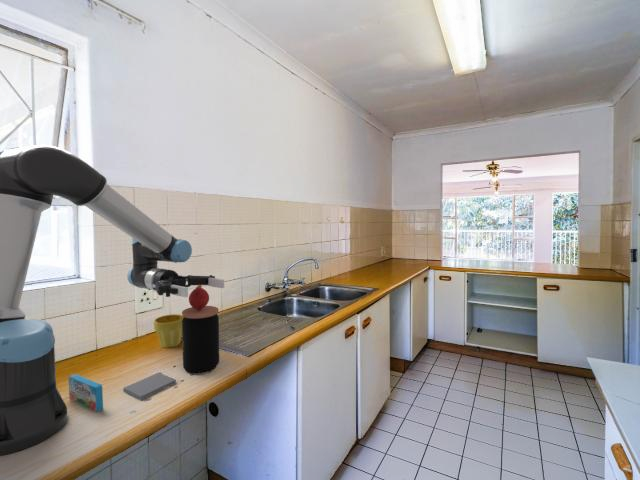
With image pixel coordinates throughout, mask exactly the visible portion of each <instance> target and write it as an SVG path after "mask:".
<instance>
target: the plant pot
mask: <svg viewBox="0 0 640 480" xmlns="http://www.w3.org/2000/svg"><path fill="white" fill-rule="evenodd" d="M183 318H184V317H183V316H182V314H179V313H178V314H177V313H176V314H175V313H173V314H165V315H161V316H158V317H156V318H155V319H154V320H153V325H154V326H153V329H154V330H155V331H156V333H157V337H158V339H159V345H160V347H161V348H168V349H169V348H174V347H177V346H179V345H180V344H181V343H182V319H183Z"/></svg>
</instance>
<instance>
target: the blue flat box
mask: <svg viewBox="0 0 640 480" xmlns="http://www.w3.org/2000/svg"><path fill="white" fill-rule="evenodd" d="M68 392H69V393H68V394H69V397H68V398H69V400H70V401H73V402H74V403H76V404H79V405H81V406H83V407H84V408H87V409H88V410H91V411H93V412H94V413H97V412H100V411H101V410H104V400H103V399H104V397H103V385H102V384H100V383H98V382H97V381H93V380H91V379H88V378H86V377H84V376H81V375H79V374H77V373H76V374H72V375H70V376H68Z"/></svg>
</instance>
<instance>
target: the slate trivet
mask: <svg viewBox="0 0 640 480" xmlns="http://www.w3.org/2000/svg"><path fill="white" fill-rule="evenodd" d="M175 384H177V381H176V378H173V377H171V376H168V375H166V374H163V373H161V372H157V373H154V374H152V375H150V376H147V377H145V378H142V379H140V380H138V381H136V382H133V383H131V384H129V385H127V386H125V387H123V393H126V394H128V395H129V396H132V397H133V398H136V399H138V400H139V401H142V400H145V399H146V398H148V397H150V396H152V395H155V394H157V393H159V392H160V391H162V390H164V389H167V388H169V387H170V386H173V385H175Z"/></svg>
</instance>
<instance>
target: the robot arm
mask: <svg viewBox="0 0 640 480" xmlns="http://www.w3.org/2000/svg"><path fill="white" fill-rule="evenodd" d="M54 196H57V197H59V198H63V199H65V200H68V201H69V202H71V203H73V204H75V205H76V206H78V207H84V206H85V207H86V208H87V209H89V210H91V211H92V212H94V213H95V214H96V215H98V216H99V217H101V218H102V219H104V220H106V221H107V222H108V223H110V224H112V225H113V226H114V227H116V228H117V229H119V230H120V231H122V232H123V233H125V234H126V235H128V236H129V237H130V238H131V239H132V241H131V242H132V243H131V248H132V267H131V268H130V269H129V270H128V272H127V277H126V278H127V281H128V283H129V284H130V285H132V286H133V287H136V288H139V289H147V290H151V291H156V293H157V295H159V296H163V295H164V294H165V297H166V298H170V297H171V295H174V296H178V297H182V298H189V290H188V289H189V288H190V287H191V286H198V285H201V286H208V287H212V288H218V289H225V279H221V278H216V276H215V275H212V274H210V275H192V274H190V275H189V274H188V275H179V274H178V273H177V272H176V271H175V270H173V269H167V268H159V267H158V262H168V263H175V264H176V263H185V262H188V261H189V259H190V257H191V256H192V253H193V248H192V244H191V243H190V242H189V241H188V240H185V239H181V238H176V237H175V236H174V235H172V234H171V233H170V232H168V231H167V230H166V229H165V228H163V227H161V226H160V225H159V224H158V223H157V222H155V220H153V219H152V218H151V217H149V216H148V215H147V214H146V213H144V212H143V211H141V210H140V209H139V208H138V207H136V206H135V205H134V204H133V203H131V201H129V200H128V199H127V198H125V197H124V196H123V195H121V194H120V193H119V192H117V191H116V190H115V189H114V188H112V186H110V185H109V184H108V180H107V178H106V177H105V176H104V175H102V174H101V173H100V172H99V171H98V170H97V169H95V168H94V167H92V165H90V164H88V163H87V162H85V161H84V160H82V159H81V158H79V157H78V156H76V155H74V154H73V153H71V152H69V151H68V150H65V149H62V148H60V147H57V146H54V145H49V144H48V145H46V144H39V145H38V144H37V145H32V146H25V147H24V146H23V147H19V146H18V147H17V146H16V147H9V148H6V149H3V150H1V151H0V456H2V455H7V454H13V453H16V452H19V451H22V450H24V449H27V448H30V447H32V446H34V445H37V444H39V443H42V442H43V441H45V440H47V439H48V438H50V437H51V436H53V435H54V434H56V433H57V432H59V430H61V429H62V428H63V427H64V426H65V424H66V423H67V421H68V417H69V416H68V408H67V407H68V406H67V405H66V402H65V401H64V398H63V397H62V395H61V394H60V392H59V390H58V388H57V381H56V377H57V376H56V356H55V355H56V353H55V344H56V337H55V335H54V329H53V327H52V325H51V324H50V323H48V322H46V321H44V320H40V319H32V318H31V319H26V313H25V312H24V311H23V310H22V309H21V308H20V304H21V300H22V296H23V293H24V292H23V291H24V287H25V283H26V279H27V276H28V275H27V274H28V270H29V266H30V263H31V262H30V261H31V258H32V254H33V250H34V245H35V241H36V238H37V232H38V228H39V224H40V220H41V216H42V213H43V212H44V211H45V210H48V209H50V208H51V206H52V203H53V199H54Z"/></svg>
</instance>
